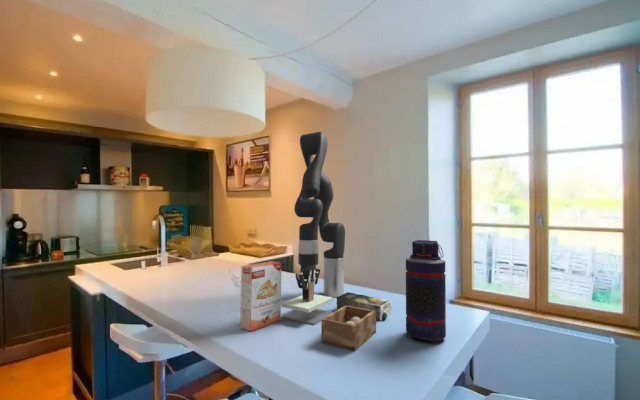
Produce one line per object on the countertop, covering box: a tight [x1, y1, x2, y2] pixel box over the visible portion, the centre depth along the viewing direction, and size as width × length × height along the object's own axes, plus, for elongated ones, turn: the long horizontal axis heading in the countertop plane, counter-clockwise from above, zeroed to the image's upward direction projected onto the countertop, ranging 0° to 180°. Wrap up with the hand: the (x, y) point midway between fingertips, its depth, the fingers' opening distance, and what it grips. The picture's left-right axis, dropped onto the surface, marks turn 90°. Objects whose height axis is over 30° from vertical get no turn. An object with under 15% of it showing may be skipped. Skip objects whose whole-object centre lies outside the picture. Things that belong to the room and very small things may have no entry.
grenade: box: [405, 239, 447, 345], centre depth 102 cm, size 14×12×30 cm
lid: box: [281, 281, 334, 313], centre depth 121 cm, size 17×12×9 cm
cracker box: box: [239, 260, 282, 332], centre depth 112 cm, size 14×6×21 cm, turn 142°
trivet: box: [281, 308, 334, 326], centre depth 121 cm, size 14×14×1 cm
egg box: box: [320, 305, 377, 352], centre depth 101 cm, size 16×11×7 cm
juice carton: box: [336, 292, 392, 321], centre depth 124 cm, size 20×10×6 cm, turn 55°
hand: (308, 297), depth 121 cm, fingers closed on lid, 3 cm apart
